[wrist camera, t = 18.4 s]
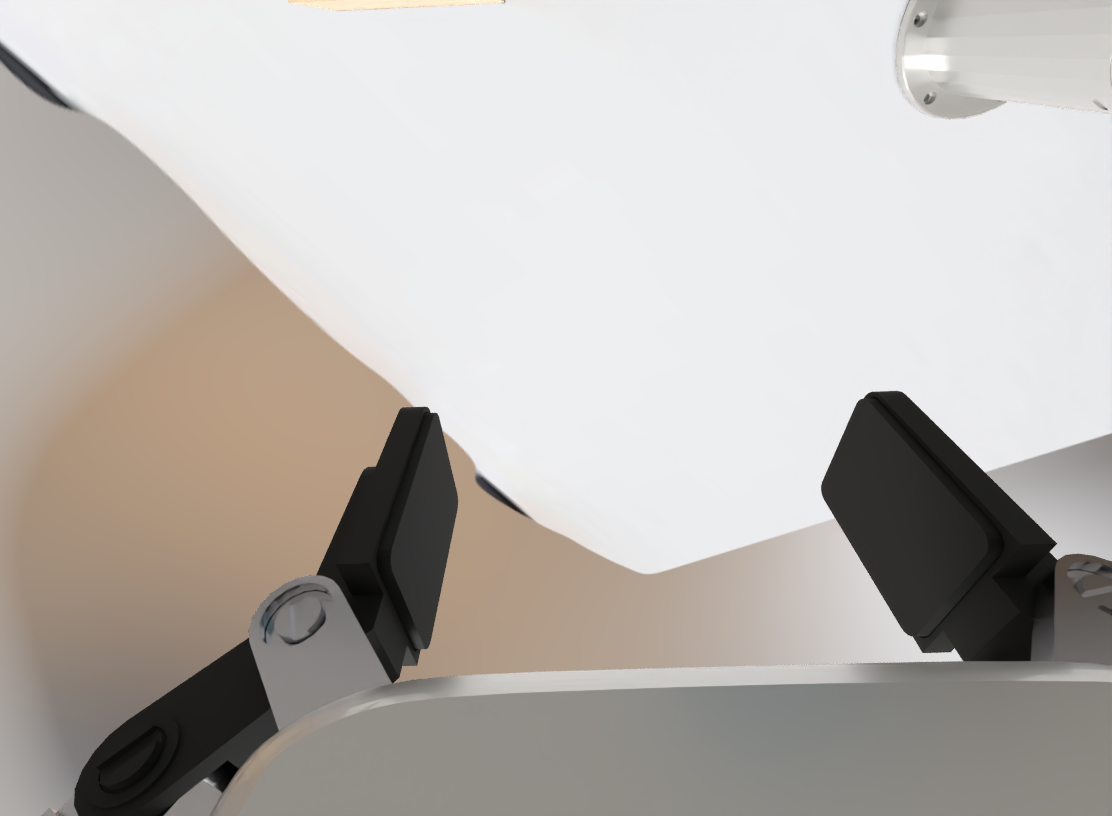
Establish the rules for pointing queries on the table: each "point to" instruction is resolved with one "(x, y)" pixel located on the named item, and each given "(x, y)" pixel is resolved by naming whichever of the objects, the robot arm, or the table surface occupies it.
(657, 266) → the table surface
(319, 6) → the carton
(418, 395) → the table surface
